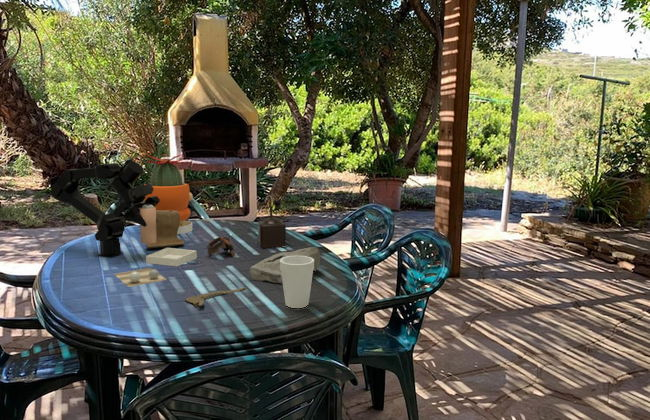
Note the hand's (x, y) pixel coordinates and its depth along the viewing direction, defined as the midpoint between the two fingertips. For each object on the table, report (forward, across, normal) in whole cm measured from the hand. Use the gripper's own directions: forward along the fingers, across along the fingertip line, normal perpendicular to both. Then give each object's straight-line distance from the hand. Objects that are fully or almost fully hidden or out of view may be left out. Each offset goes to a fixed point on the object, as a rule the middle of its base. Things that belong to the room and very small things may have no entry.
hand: (151, 224), depth 179 cm
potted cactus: (-8, +41, +28) cm, 50 cm away
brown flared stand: (+3, +19, +17) cm, 25 cm away
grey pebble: (+20, -18, -2) cm, 27 cm away
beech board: (+17, -18, +2) cm, 25 cm away
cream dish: (+15, +2, +4) cm, 15 cm away
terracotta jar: (+4, 0, +6) cm, 7 cm away
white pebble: (+18, -23, 0) cm, 29 cm away
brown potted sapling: (+29, +40, -11) cm, 51 cm away
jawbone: (+41, -24, -22) cm, 53 cm away
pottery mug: (+23, +16, -4) cm, 29 cm away
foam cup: (+56, -21, -39) cm, 71 cm away
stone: (+46, +4, -28) cm, 54 cm away
